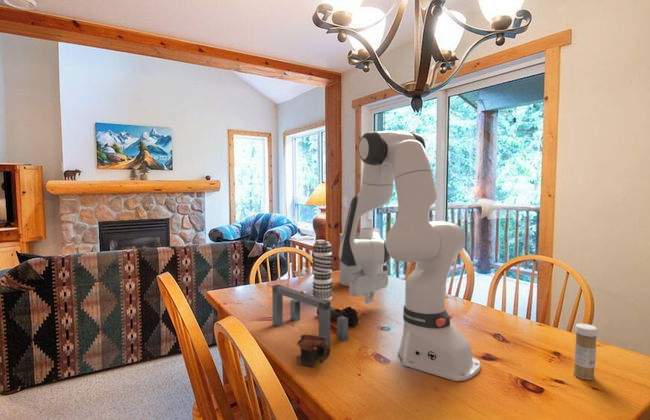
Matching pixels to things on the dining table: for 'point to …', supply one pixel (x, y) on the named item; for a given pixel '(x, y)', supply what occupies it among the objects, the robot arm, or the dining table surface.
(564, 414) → the dining table surface
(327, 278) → the decorative candle
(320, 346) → the pottery mug
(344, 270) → the cylinder vase
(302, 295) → the grey arch frame
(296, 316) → the guide posts
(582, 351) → the sprinkles bottle
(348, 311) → the dark elongated lumpy piece
